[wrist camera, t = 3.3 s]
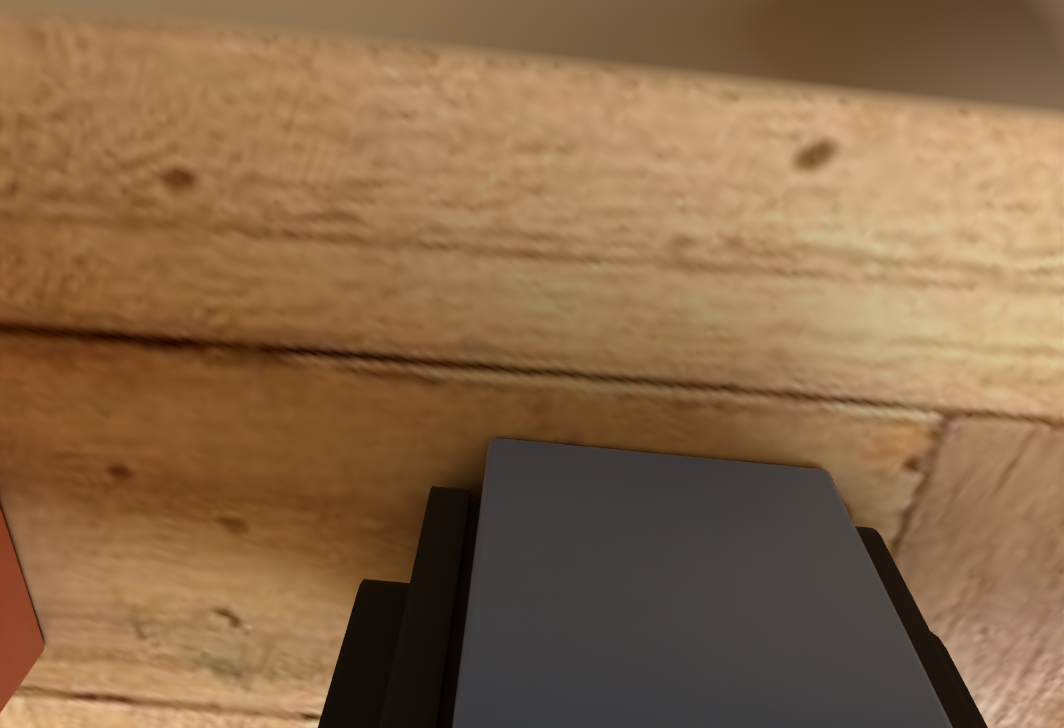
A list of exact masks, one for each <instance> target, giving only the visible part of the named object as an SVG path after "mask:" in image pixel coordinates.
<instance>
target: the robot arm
mask: <svg viewBox="0 0 1064 728" xmlns="http://www.w3.org/2000/svg"><path fill="white" fill-rule="evenodd" d="M480 504H481V502H480V501H471V490H466V489H456V488H445V487H434V486H432V487H431V490H430V494H429V498H428V503H427V507H426V512H425V517H424V521H423V526H422V530H421V535H420V540H419V544H418V549H417V553H416V558H415V563H414V567H413V572H412V576H411V581H410V583H401V582H390V581H379V580H368V579H364V580H363V581H362V582H361V584H360V587H359V589H358V592H357V595H356V599H355V602H354V606H353V609H352V612H351V616H350V619H349V623H348V626H347V630H346V633H345V636H344V640H343V643H342V647H341V650H340V654H339V657H338V660H337V664H336V667H335V671H334V674H333V677H332V681H331V684H330V688H329V691H328V695H327V698H326V701H325V705H324V708H323V712H322V715H321V719H320V722H319V725H318V728H452V723H453V715H454V707H455V699H456V692H457V684H458V676H459V668H460V660H461V653H462V645H463V637H464V629H465V621H466V614H467V606H468V598H469V590H470V582H471V575H472V567H473V559H474V551H475V543H476V536H477V528H478V520H479V512H480ZM855 527H856V530H857V532H858V534H859V536H860V538H861V540H862V542H863V544H864V546H865V548H866V550H867V552H868V554H869V556H870V558H871V560H872V562H873V565H874V567H875V569H876V571H877V573H878V575H879V577H880V579H881V581H882V583H883V585H884V587H885V589H886V591H887V593H888V595H889V597H890V600H891V602H892V604H893V606H894V608H895V610H896V612H897V614H898V616H899V618H900V620H901V622H902V624H903V626H904V628H905V630H906V632H907V635H908V637H909V639H910V641H911V643H912V645H913V647H914V649H915V651H916V653H917V655H918V657H919V659H920V661H921V663H922V665H923V668H924V670H925V672H926V674H927V676H928V678H929V680H930V682H931V684H932V686H933V688H934V690H935V692H936V694H937V696H938V698H939V700H940V703H941V705H942V707H943V709H944V711H945V713H946V715H947V717H948V719H949V721H950V723H951V725H952V727H953V728H988V727H987V725H986V723H985V721H984V719H983V717H982V715H981V714H980V712H979V710H978V708H977V706H976V704H975V702H974V700H973V698H972V697H971V695H970V693H969V691H968V689H967V687H966V685H965V683H964V681H963V679H962V678H961V676H960V674H959V672H958V670H957V668H956V666H955V664H954V662H953V661H952V659H951V657H950V655H949V653H948V651H947V649H946V647H945V646H944V645H943V643H942V642H941V640H940V639H939V637H937V636H936V635H935V634H933V633H932V632H931V631H930V630H929V628H928V626H927V624H926V622H925V620H924V618H923V617H922V615H921V613H920V611H919V609H918V607H917V605H916V603H915V601H914V599H913V597H912V595H911V593H910V591H909V590H908V588H907V586H906V584H905V582H904V580H903V578H902V576H901V574H900V572H899V570H898V568H897V566H896V564H895V563H894V561H893V559H892V557H891V555H890V553H889V551H888V549H887V547H886V545H885V543H884V541H883V539H882V537H881V536H880V534H879V533H878V531H877V530H875V529H873V528H868V527H858V526H855Z"/></svg>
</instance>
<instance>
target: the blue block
mask: <svg viewBox="0 0 1064 728" xmlns="http://www.w3.org/2000/svg"><path fill="white" fill-rule="evenodd" d="M452 728H953V727H952V725H951V723H950V721H949V719H948V717H947V715H946V713H945V711H944V709H943V707H942V705H941V703H940V700H939V698H938V696H937V694H936V692H935V690H934V688H933V686H932V684H931V682H930V680H929V678H928V676H927V674H926V672H925V670H924V668H923V665H922V663H921V661H920V659H919V657H918V655H917V653H916V651H915V649H914V647H913V645H912V643H911V641H910V639H909V637H908V635H907V632H906V630H905V628H904V626H903V624H902V622H901V620H900V618H899V616H898V614H897V612H896V610H895V608H894V606H893V604H892V602H891V600H890V597H889V595H888V593H887V591H886V589H885V587H884V585H883V583H882V581H881V579H880V577H879V575H878V573H877V571H876V569H875V567H874V565H873V562H872V560H871V558H870V556H869V554H868V552H867V550H866V548H865V546H864V544H863V542H862V540H861V538H860V536H859V534H858V532H857V530H856V527H855V525H854V523H853V521H852V519H851V517H850V515H849V513H848V511H847V509H846V507H845V505H844V503H843V501H842V499H841V497H840V494H839V492H838V490H837V488H836V486H835V484H834V482H833V480H832V478H831V476H830V474H829V472H827V471H826V470H823V469H816V468H806V467H795V466H785V465H775V464H764V463H754V462H743V461H733V460H723V459H712V458H702V457H692V456H681V455H671V454H660V453H650V452H640V451H629V450H619V449H609V448H598V447H588V446H577V445H567V444H557V443H546V442H536V441H525V440H515V439H505V438H493V439H491V441H490V442H489V444H488V450H487V458H486V465H485V473H484V481H483V489H482V497H481V504H480V512H479V520H478V528H477V536H476V543H475V551H474V559H473V567H472V575H471V582H470V590H469V598H468V606H467V614H466V621H465V629H464V637H463V645H462V653H461V660H460V668H459V676H458V684H457V692H456V699H455V707H454V715H453V723H452Z"/></svg>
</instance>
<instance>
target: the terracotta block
mask: <svg viewBox="0 0 1064 728" xmlns="http://www.w3.org/2000/svg"><path fill="white" fill-rule="evenodd" d="M44 646H45V645H44V642H43V639H42V636H41V633H40V629H39V626H38V623H37V620H36V617H35V614H34V611H33V608H32V604H31V601H30V598H29V595H28V592H27V589H26V586H25V583H24V579H23V576H22V573H21V570H20V567H19V564H18V561H17V557H16V554H15V551H14V548H13V545H12V542H11V539H10V536H9V532H8V529H7V526H6V523H5V520H4V517H3V514H2V511H1V507H0V713H1V711H2V710H3V708H4V707H5V705H6V704H7V702H8V701H9V700H10V698H11V697H12V695H13V694H14V692H15V691H16V690H17V688H18V687H19V685H20V684H21V682H22V681H23V679H24V678H25V677H26V675H27V674H28V672H29V671H30V669H31V668H32V666H33V665H34V664H35V662H36V661H37V659H38V658H39V656H40V655H41V654H42V652H43V650H44Z"/></svg>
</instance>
